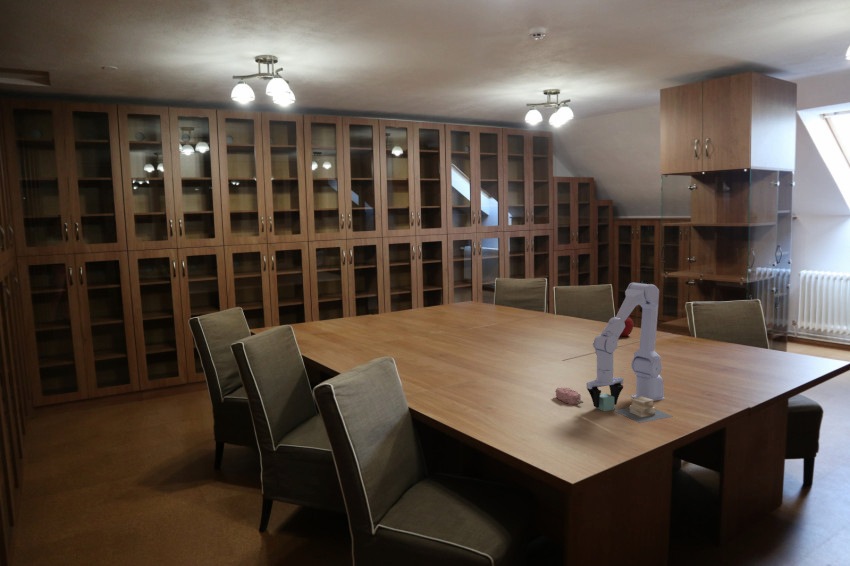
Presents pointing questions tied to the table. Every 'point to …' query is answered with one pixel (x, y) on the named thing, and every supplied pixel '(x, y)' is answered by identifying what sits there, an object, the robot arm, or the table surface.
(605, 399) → the teal block
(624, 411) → the felt mat
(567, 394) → the ice cream bar
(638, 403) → the tower mid
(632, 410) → the tower base
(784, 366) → the table surface
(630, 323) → the apple
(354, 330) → the table surface
